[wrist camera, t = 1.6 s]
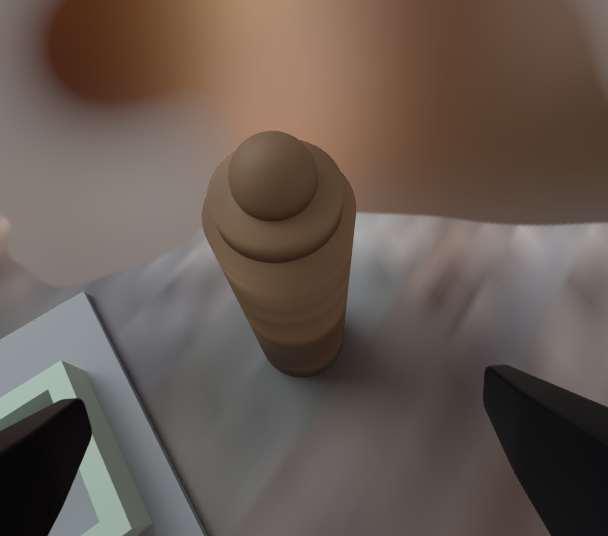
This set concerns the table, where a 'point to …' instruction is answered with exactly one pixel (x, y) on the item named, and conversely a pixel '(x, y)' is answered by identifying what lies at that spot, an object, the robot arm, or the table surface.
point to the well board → (95, 426)
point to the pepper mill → (285, 246)
